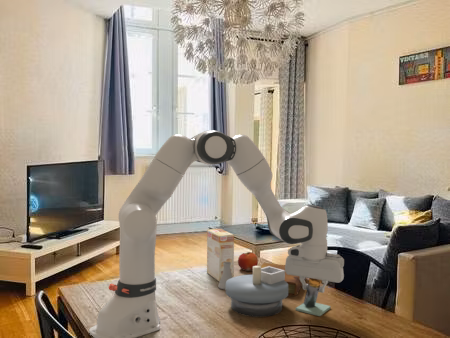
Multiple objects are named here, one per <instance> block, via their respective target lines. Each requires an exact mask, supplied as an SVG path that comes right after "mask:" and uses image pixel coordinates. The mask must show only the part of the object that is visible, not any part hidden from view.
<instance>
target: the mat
mask: <svg viewBox="0 0 450 338" xmlns="http://www.w3.org/2000/svg"><path fill="white" fill-rule="evenodd" d="M329 310H331V305H328V304H323V303H319V302H316V304H315V307H313V308H310V307H307V306H305V305H304V302H303V303H301V304H300V305H297V307H295V311H298V312H301V313H305V314H308V315H309V314H310V315H314V316H316V317H317V316H318V317H321V316H323V314H325V313H326V312H328V311H329Z"/></svg>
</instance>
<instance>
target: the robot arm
mask: <svg viewBox="0 0 450 338" xmlns="http://www.w3.org/2000/svg"><path fill="white" fill-rule="evenodd" d="M194 162H197V163H201V164H204V165H209V166H210V165H219V164H222V163H227V164H229V167H231V168H232V170H233V171H234V174H235V175H236V177H237V178H238V180H239V181H240V182H241V184H242V185H243V186H244V187H245V188H246V189H247V190H248V191H249V192H250V193H251V194H252V195H253V196H254V198H255V199H256V201H257V203H258V204H259V206H260V207H261V209H262V211H263V213H264V214H265V216H266V221H267V228H268V230H269V233H270V234H271V235H273V236H274V237H275V238H278V239H279V240H281V241H282V242H284V243H285V244H289V245H294V246H292V247H290V248H289V249H288V250H287V254H288V255H287V257H286V258H285V263H284V265H285V272H286V273H287V274H288V275H294V276H300V281H301V283H302V290H304V291H305V290H306V291H307V287H308V283H306V279H307V278H308V279H309V278H312V279H318V280H322V281H321V284H322V285H320V287H319V292H318V293H321V294H324V293H325V287H326V286H327V285H328V283H329V282H332V283H341V282H342V281H343V280H344V277H345V274H344V266H345V259H344V258H343V257H342V256H341V255H340V254H338V253H337V254H335V253H331V252H330V253H328V240H327V235H328V214H327V211H326V210H327V209H325V208H324V207H322V206H319V205H316V204H307V203H306V204H304V205H303V206H302V207H301V208H300V209H298V210H296V211H294V212H292V213H291V212H289V211H287V210H286V209H284V208H283V207H282V205H281V203H279V200H278V199H277V197H276V195H275V194H274V191H273V190H272V187H271V183H272V180H273V172H272V169H271V167H270V164H269V162H268V161H267V159H266V157H265V156H264V154H263V153H262V151H261V150H260V148H259V147H258V146H257V145H256V144H255V142H254V141H253V140H252V139H251V138H250V137H249V136H247V135H245V134H237V135H234V136H233V137H231V136H229V135H227V134H225V133H224V132H222V131H219V130H214V129H213V130H204V131H202V132H200V133H197V134H196V135H194V136H193V137H190V138H188V137H187V136H186V135H183V134H177V133H176V134H172V135H170V137H169V138H167V139H166V141H165V142H164V143H163V144H162V146H161V147H160V148H159V150H157V152H156V154H155V155H154V157H153V158H152V160H151V162H150V164H149V165H148V167H147V168H146V170H145V172H144V173H143V175H142V177H141V178H140V180H138V183H137V184H136V185H135V187H134V188H133V189H132V190H131V192H130V193H129V195H128V196H127V197H126V200H125V201H124V203H123V204H122V206H121V207H120V209H119V211H118V222H119V223H118V224H119V252H118V253H119V254H118V255H119V257H118V259H119V262H118V263H119V267H118V269H119V270H118V271H119V279H118V281H117V284H114V283H109V285H108V290H110V291H113V292H114V294H113V295H112V296H111V298H110V299H109V300H108V301H107V302H106V303H105V304H104V305H103V307H102V308H101V309H100V310H99V311H98V315H97V321H96V324H95V325H93V326H92V327H89V329H88V334H89V333H90V334H89V335H90V336H91V335H92V336H93V337H92V336H91V337H92V338H138V337H139V338H140V337H142V336H144V335H148V334H150V333H154V332H156V331H159V330H160V329H161V325H160V323H161V319H160V317H159V316H160V315H159V312H158V305H157V299H156V298H157V297H156V291H157V278H156V273H155V272H156V270H155V269H156V268H155V267H156V266H155V265H156V264H155V263H156V262H155V261H156V258H155V256H156V255H155V254H156V253H155V252H156V245H157V227H158V226H157V225H158V224H157V220H158V219H157V214H158V213H159V212H160V210H162V208H163V206H164V205H165V204H166V203H167V201H168V200H170V198H171V197H172V195H173V194H174V192H175V191H176V189H177V187H178V186H179V184H180V182H181V180H182V179H183V177H184V176H185V174H186V172H187V171H188V169H189V167H190V166H191V165H192V164H193V163H194ZM296 244H299V245H296ZM305 277H306V279H305ZM304 279H305V280H304Z"/></svg>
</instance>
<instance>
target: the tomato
mask: <svg viewBox="0 0 450 338" xmlns="http://www.w3.org/2000/svg"><path fill="white" fill-rule="evenodd" d="M258 259H259V258H258V256H257V255H256V254H255V253H254V252H252V251H251V252H250V251H247V252H243V253H241V254H240V255H239V257H238V260H237V265H238V267H239V268H241V269H242V270H244V271H247V272H249V271H252V272H253V266H258V262H259V260H258Z"/></svg>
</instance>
